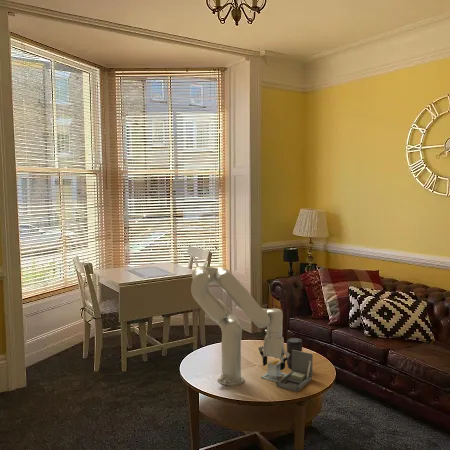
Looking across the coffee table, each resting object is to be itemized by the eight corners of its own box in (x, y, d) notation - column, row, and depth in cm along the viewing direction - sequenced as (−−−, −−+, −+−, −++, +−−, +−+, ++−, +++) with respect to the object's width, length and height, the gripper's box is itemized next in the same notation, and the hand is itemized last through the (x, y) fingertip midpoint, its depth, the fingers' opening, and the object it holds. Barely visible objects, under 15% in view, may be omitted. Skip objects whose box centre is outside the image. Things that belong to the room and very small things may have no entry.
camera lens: (302, 365, 259) (303, 338, 258) (301, 371, 251) (301, 343, 250) (287, 363, 261) (287, 336, 260) (285, 369, 253) (285, 341, 252)
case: (297, 393, 226) (298, 365, 225) (276, 387, 232) (276, 360, 231) (312, 380, 240) (312, 353, 239) (292, 375, 246) (292, 349, 245)
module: (276, 379, 240) (276, 364, 239) (267, 377, 242) (267, 362, 242) (281, 376, 244) (281, 360, 243) (272, 374, 246) (272, 358, 246)
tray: (279, 383, 236) (279, 381, 236) (261, 379, 242) (261, 376, 242) (288, 376, 244) (288, 374, 244) (270, 372, 250) (270, 370, 250)
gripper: (255, 332, 242) (254, 365, 244) (286, 339, 233) (285, 373, 235) (262, 328, 249) (262, 361, 250) (293, 335, 239) (292, 368, 241)
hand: (273, 367), depth 242 cm, fingers open, 9 cm apart
